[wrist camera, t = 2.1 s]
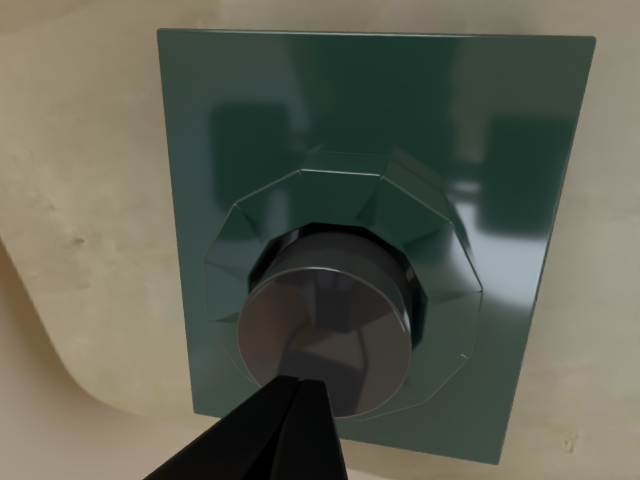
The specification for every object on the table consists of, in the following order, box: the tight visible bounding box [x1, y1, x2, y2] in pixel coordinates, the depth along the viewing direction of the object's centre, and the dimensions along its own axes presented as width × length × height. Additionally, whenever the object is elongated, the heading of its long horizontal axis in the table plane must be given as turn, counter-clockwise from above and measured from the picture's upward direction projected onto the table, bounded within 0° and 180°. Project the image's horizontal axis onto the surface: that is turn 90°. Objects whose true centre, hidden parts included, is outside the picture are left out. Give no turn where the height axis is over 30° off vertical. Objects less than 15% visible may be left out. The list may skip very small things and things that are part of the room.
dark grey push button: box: [237, 231, 413, 418], centre depth 10 cm, size 4×4×2 cm
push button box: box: [157, 28, 596, 465], centre depth 13 cm, size 12×10×6 cm
